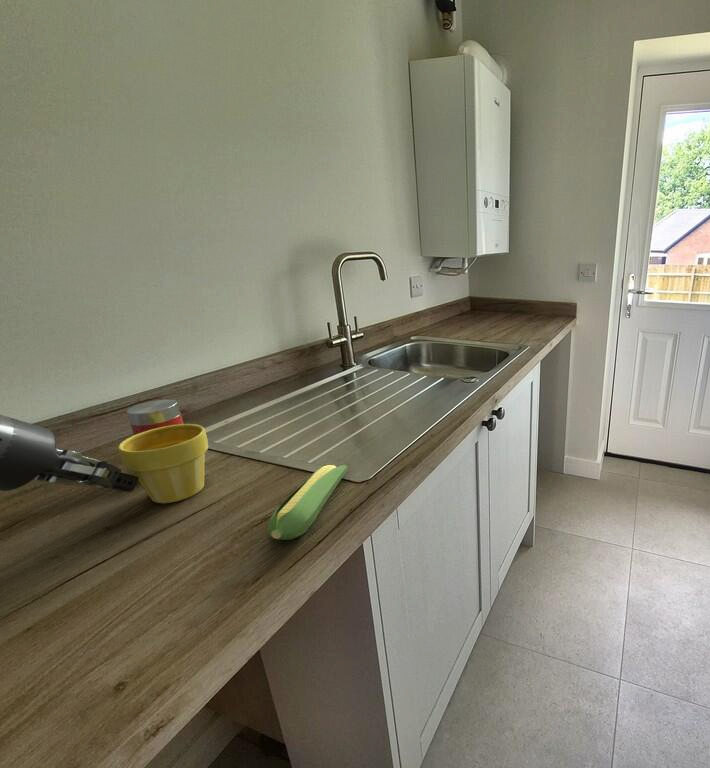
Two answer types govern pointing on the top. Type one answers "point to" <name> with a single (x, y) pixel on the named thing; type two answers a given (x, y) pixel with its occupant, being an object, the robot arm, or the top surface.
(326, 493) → the edible corn
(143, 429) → the tin can
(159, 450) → the flower pot
